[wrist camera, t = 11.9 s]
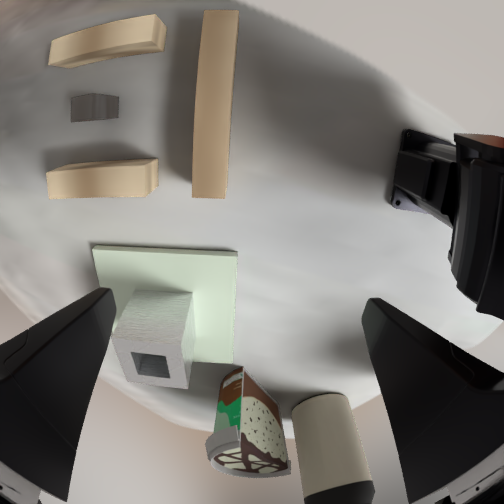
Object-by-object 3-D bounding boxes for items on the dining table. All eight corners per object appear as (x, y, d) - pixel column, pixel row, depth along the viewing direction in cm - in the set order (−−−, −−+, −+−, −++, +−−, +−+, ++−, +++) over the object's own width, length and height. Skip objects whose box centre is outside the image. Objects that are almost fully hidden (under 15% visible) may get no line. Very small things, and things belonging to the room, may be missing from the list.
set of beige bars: (238, 25, 14) (238, 4, 10) (227, 187, 19) (224, 203, 16) (72, 46, 13) (44, 38, 9) (69, 188, 18) (41, 203, 15)
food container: (187, 374, 28) (177, 453, 19) (235, 358, 27) (236, 445, 18) (242, 420, 33) (244, 483, 24) (283, 408, 32) (292, 475, 23)
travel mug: (310, 388, 30) (339, 524, 14) (359, 394, 32) (395, 508, 16) (280, 418, 33) (294, 534, 17) (326, 422, 35) (349, 524, 19)
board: (237, 251, 21) (237, 256, 21) (232, 357, 27) (232, 363, 26) (96, 245, 21) (92, 249, 20) (121, 347, 26) (119, 352, 25)
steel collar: (192, 292, 22) (180, 345, 17) (196, 336, 24) (188, 389, 19) (135, 288, 22) (110, 337, 16) (144, 332, 24) (127, 381, 19)
